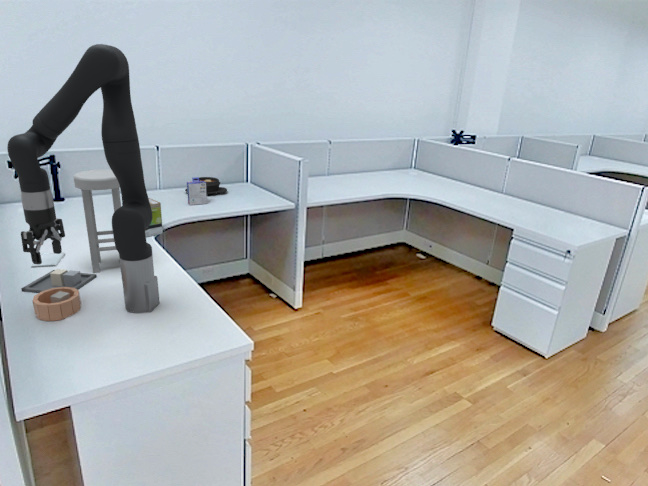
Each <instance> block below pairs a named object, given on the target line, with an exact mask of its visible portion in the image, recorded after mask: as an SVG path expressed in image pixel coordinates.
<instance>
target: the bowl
mask: <svg viewBox="0 0 648 486" xmlns="http://www.w3.org/2000/svg"><path fill="white" fill-rule="evenodd" d="M79 290H80V289H79ZM79 290H77V289H75V288H72V287H57V288H51V289H48V290H45V291H42V292H40V293H36V295H34V296H33V298H32V306H33V310H34V315H35V316H36V318H37V319H38V320H40V321H44V322H56V321H61V320H65V319H67V318H68V317H71V316H73V315H75V314H76V313H78V312H80V310H81V308H82V300H81V295H80V291H79ZM59 291H62V292H67V293H70V298H69V299H68V300H65V301H62V302H57V303H51V298H50V296H51V295H53V294H55V293H57V292H59Z"/></svg>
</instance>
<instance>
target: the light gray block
mask: <svg viewBox="0 0 648 486" xmlns="http://www.w3.org/2000/svg"><path fill="white" fill-rule="evenodd" d="M67 271H68V272H66V273H65V274H63V278H64V284H65V287H72V288H73V287H74V286H76V285H77V284H79V283H80V282H82V281H81V274H80V273H81V271H80V270H67Z"/></svg>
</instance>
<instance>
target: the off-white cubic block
mask: <svg viewBox="0 0 648 486" xmlns="http://www.w3.org/2000/svg"><path fill="white" fill-rule="evenodd" d="M54 270H55V271H53V270H52V271H53V272H51V271H50V272H51V273H50V276H51V281H52V286H61V287H62V286H64V285H65V284H64V278H63V274H65V273H66V272H68V271H69V270H67V269H61V268H57V269H54Z"/></svg>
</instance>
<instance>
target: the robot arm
mask: <svg viewBox="0 0 648 486" xmlns="http://www.w3.org/2000/svg"><path fill="white" fill-rule="evenodd" d="M130 80H131V79H130V65H129V60H128V59H127V57H126V55H125V54H124V53H123V51H122V50H121V49H120V48H117V47H116V46H113V45H108V44H103V43H97V44H93V45H90V46H89V47H88V48H87V49H86V50H85V52H84V53H83V55H82V56H81V58H80V60H79V61H78V63H77V65H76V66H75V68H74V70H73V72H72V73H71V74H70V75H69V77H68V79H67V80H66V81H65V83H63V85H62V87H61V88H60V89H59V90H58V91H57V92H56V93H55V94H54V96H53V97H51V98H50V100H49V101H48V102H47V103H46V104H45V105H44V106H43V107H42V109H40V110H39V112H38V113H37V114H36V115H35V116H34V117H33V119H32V125H31V127H30V128H29V129H28V130H26V131H25V132H24V133H20V134H16V135H13V136H12V137H10V138H9V140H8V142H7V148H6V149H7V154H8V157H9V159H10V162H11V164H12V167H13V169H14V171H15V173H16V174H17V176H18V182H19V183H18V184H19V188H20V189H19V190H20V197H21V198H20V199H21V204H22V210H23V215H24V219H25V223H27V225H28V226H29V230H26V231H25V230H24V231H20V238H21V244H22V245H21V246H22V252H24V253H30V257H31V262H32V264H38V265H39V264H41V263H42V260H41V251H40V250H41V247H42V246H43V245H44V242H45V241H47V240H48V239H50V240H51V245H52V251H53V252H52V253H55V254H60V253H63V252H62V245H61V243H62V242H61V241H62V240H63V238H66V233H65V232H66V231H65V227H64V223H63V219H62V218H57V215H56V209H55V202H54V198H53V194H52V190H51V186H50V185H51V183H50V178H49V175H48V174H49V173H48V171H47V170H46V169H45V168H41V166H40V163H39V158H42V157H43V156H44V155H45V154H47V152H48V151H49V150H50V149H51V148H52V147H53V145H54V144H55V142H56V140H57V138H58V137H59V136H60V135H61V134H63V132H65V130H66V129H67V128H68V127H69V126H70V125H71V124H72V123H73V122H74V120H76V118H77V117H78V115H79V113H80V111H81V110H82V108H83V107H84V106H85V104H86V102H87V101H88V100H89V98H90V97H91V96H92V95H93V94H94V93H96V92H97V91H98V90H101V91H100V92H101V97H102V104H103V105H102V106H103V108H102V118H101V140H102V146H103V151H104V152H103V153H104V156H105V160H106V162H107V165H108V167H109V168H110V170H112V172H113V173H114V175H115V177H116V178H117V180H118V182H119V185H120V187H119V190H120V196H121V207H120V208H118V209H117V210H116V211H115V212H114V211H113V214H112V217H111V231H112V230H113V234H112V235H113V236H112V237H113V238H114V242H113V243H114V246H115V247H116V249H117V250H116V252H118V257H119V263H120V267H119V268H120V272H121V273H120V274H121V283H122V289H123V291H122V292H123V298H124V305H125V310H126V311H127V312H129V313H134V314H141V313H147V312H148V313H151V312H152V311H153V310H154V309H155V308H156V307H157V306H158V305H160V291H159V281H158V280H159V279H158V275H155V269H154V256H153V247H152V245H151V244H150V243H149V242H147V237H146V235H145V229H147V228H148V227H149V226H150V224H151V222H152V218H153V215H152V209H151V206H150V202H149V198H150V197H149V196H148V191H147V189H146V188H147V187H146V183H145V177H144V176H145V175H144V169H143V162H142V157H141V148H140V140H139V135H138V131H137V130H138V129H137V124H136V119H135V118H136V117H135V115H134V110H133V105H132V97H131V83H130Z"/></svg>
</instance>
